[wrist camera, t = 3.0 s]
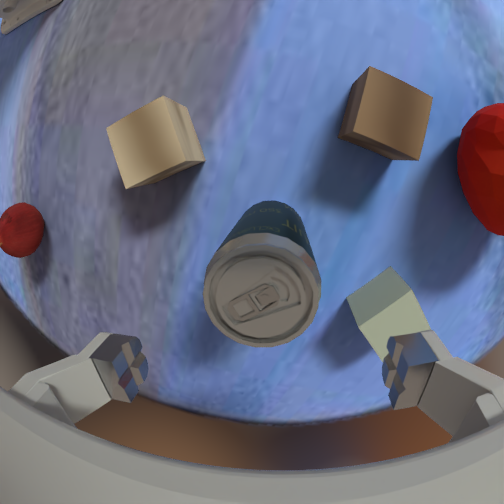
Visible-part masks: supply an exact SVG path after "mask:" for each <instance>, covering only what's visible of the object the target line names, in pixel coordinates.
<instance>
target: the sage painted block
mask: <svg viewBox="0 0 504 504" xmlns="http://www.w3.org/2000/svg"><path fill="white" fill-rule="evenodd" d="M346 298H347V301H348V303H349V306H350V308H351V310H352V313H353V315H354V318H355V320H356V323H357V325H358V327H359V329H360V330H361V332H362V333H363V334H364V336H365V337H366V339H367V340H368V342H369V343H370V344H371V346H372V347H373V349H374V350H375V352H376V353H377V355H378V356H379V357H380V359H381V360H382V362H383V360H384V357H385V356H386V355H387V354H388V353H389V352H388V349H387V342H388V339H389V337H390V336H396V335H404V334H411V333H417V332H420V331H426V330H431V329H430V326H429V324H428V322H427V320H426V318H425V315H424V313H423V311H422V309H421V307H420V305H419V303H418V301H417V299H416V297H415V295H414V293H413V291H412V289H411V288H410V287H409V286H408V285H407V284H406V282H405V281H404V280H403V279H402V278H401V277H400V276H399V275H398V274H397V273H396V271H395V270H394V269H393V268H392V267H391V266H390V267H388V268H387V269H386V270H384V271H383V272H382V273H380V274H379V275H378V276H376V277H375V278H373V279H372V280H371V281H369V282H368V283H367V284H365V285H364V286H362V287H361V288H359V289H358V290H357V291H355V292H354V293H352V294H351V295H349V296H348V297H346Z"/></svg>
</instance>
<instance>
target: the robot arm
mask: <svg viewBox="0 0 504 504" xmlns="http://www.w3.org/2000/svg"><path fill="white" fill-rule="evenodd" d="M61 1H62V0H0V18H2V24H1V32H2V34H5V35H6V34H8V33H9V32H10V31H12V30H13V29H15V28H16V27H18V26H20V25H21V24H23V23H24V22H26V21H28V20H29V19H31V18H33V17H34V16H36V15H38V14H40V13H41V12H43V11H45V10H47V9H49V8H51V7H53V6H55V5H56V4H58V3H59V2H61ZM141 349H142V344H141V342H140V339H139V338H137V337H135V336H128V335H121V334H113V333H107V332H101V333H99V334H98V335H97V336H96V337H95V338H94V339H93V340H92V341H91V342H90V343H89V344H88V345H87V346H86V347H85V348H84V349H83V350H82V351H81V352H80V353H79V354H78V355H72V356H70V357H67V358H65V359H62V360H60V361H57V362H55V363H52V364H50V365H47V366H45V367H42V368H40V369H37V370H34V371H32V372H29V373H27V374H25V375H24V376H23V377H22V378H21V379H20V380H19V381H18V382H17V383H16V384H15V385H14V386H13V387H12V388H11V389H10V390H9V391H6V390H5V389H3V388H1V387H0V504H504V379H503V378H501V377H498V376H496V375H494V374H492V373H490V372H488V371H486V370H483V369H481V368H479V367H477V366H475V365H473V364H471V363H469V362H467V361H464V360H462V359H460V358H458V357H455V358H453V357H452V355H451V354H450V352H449V351H448V350H447V348H446V347H445V345H444V344H443V343H442V341H441V340H440V339H439V337H438V336H437V334H436V333H435V332H434V331H433V330H426V331H420V332H417V333H411V334H404V335H396V336H390V337H389V339H388V342H387V349H388V352H389V353H388V354H387V355H386V356H385V357H384V360H383V365H382V376H383V381H384V384H385V386H386V387H388V388H389V389H390V392H389V395H388V396H389V398H390V401H391V404H392V407H393V410H396V409H402V408H408V407H413V406H418V408H419V409H421V410H422V411H423V412H424V413H426V414H427V415H428V416H429V417H430V418H431V419H433V420H434V421H435V422H436V423H437V424H439V425H440V426H441V427H442V428H444V429H445V430H446V431H447V432H448V433H450V434H451V435H452V436H453V437H452V439H451V440H450V441H449V443H448V444H445V445H442V446H439V447H436V448H432V449H429V450H426V451H422V452H419V453H415V454H412V455H408V456H403V457H399V458H395V459H390V460H385V461H380V462H375V463H370V464H363V465H356V466H349V467H341V468H330V469H319V470H318V469H317V470H296V471H295V470H294V471H272V470H271V471H270V470H249V469H236V468H226V467H217V466H210V465H203V464H197V463H191V462H186V461H180V460H176V459H170V458H166V457H162V456H158V455H154V454H150V453H146V452H142V451H139V450H135V449H132V448H129V447H125V446H122V445H119V444H116V443H113V442H110V441H108V440H105V439H102V438H99V437H97V436H94V435H92V434H89V433H87V432H84V431H82V430H79V429H77V428H76V426H75V425H74V424H75V423H76V422H78V421H80V420H81V419H83V418H84V417H86V416H87V415H89V414H90V413H92V412H93V411H95V410H96V409H98V408H99V407H101V406H103V405H104V404H105V403H107V402H109V401H110V400H111V399H115V400H119V401H124V402H128V403H131V402H132V400H133V399H134V397H135V396H136V394H137V392H138V391H139V390H138V385H139V384H141V383H143V382H144V381H145V379H146V377H147V374H148V362H147V359H146V357H145V356H144V355H143V354H142V353H141Z"/></svg>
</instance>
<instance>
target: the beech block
mask: <svg viewBox="0 0 504 504" xmlns="http://www.w3.org/2000/svg"><path fill="white" fill-rule="evenodd" d="M106 129H107V133H108V136H109V139H110V143H111V146H112V149H113V152H114V156H115V159H116V162H117V165H118V168H119V171H120V174H121V177H122V179H123V182H124V185H125V188H126V189H129V188H133V187H138V186H143V185H147V184H152V183H156V182H158V181H160V180H162V179H164V178H167V177H169V176H171V175H173V174H176V173H178V172H180V171H182V170H185V169H187V168H190V167H192V166H194V165H197V164H199V163H202V162H204V161H206V160H205V157H204V155H203V152H202V149H201V146H200V144H199V141H198V138H197V135H196V132H195V130H194V127H193V124H192V121H191V119H190V116H189V113H188V110H187V108H186V107H184V106H182V105H181V104H179V103H177V102H175V101H173V100H171V99H169V98H167V97H165V96H162V97H160V98H158V99H156V100H154V101H152V102H150V103H148V104H147V105H145V106H143V107H141V108H139V109H138V110H136V111H134V112H132V113H131V114H129V115H127V116H126V117H124V118H122V119H121V120H119V121H117V122H116V123H114V124H112V125H111V126H109V127H108V128H106Z"/></svg>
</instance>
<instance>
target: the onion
mask: <svg viewBox="0 0 504 504" xmlns="http://www.w3.org/2000/svg"><path fill="white" fill-rule="evenodd" d="M44 225H45V224H44V220H43V217H42V215H41V213H40V212H39V211H38V210H37V209H36V208H35V207H34V206H32V205H30V204H27V203H18V204H15V205H13V206H11V207H9V208H8V209H7V210H6V211H5V212H4V213H3V214H2V216H1V218H0V247H1V249H2V250H3V251H4V252H5V253H7V254H9V255H11V256H14V257H18V258H21V257H25V256H28V255H31V254H32V253H34V252H35V251H36V249H37V248H38V246H39V245H40V243H41V240H42V237H43V231H44Z"/></svg>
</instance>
